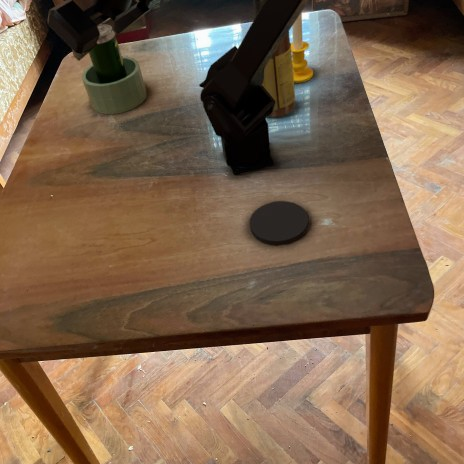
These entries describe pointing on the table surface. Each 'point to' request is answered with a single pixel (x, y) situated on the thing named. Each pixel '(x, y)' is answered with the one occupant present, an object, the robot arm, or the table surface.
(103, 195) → the table surface
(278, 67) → the sauce bottle
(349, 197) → the table surface
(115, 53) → the beer can
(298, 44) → the candle
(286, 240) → the black coaster
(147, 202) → the table surface
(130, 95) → the pot
